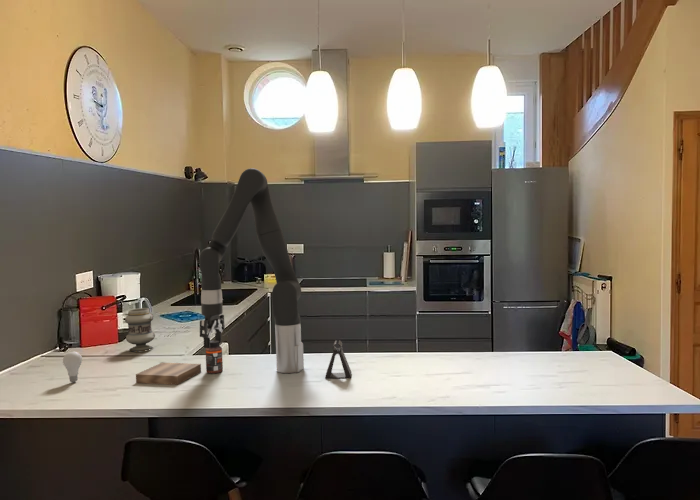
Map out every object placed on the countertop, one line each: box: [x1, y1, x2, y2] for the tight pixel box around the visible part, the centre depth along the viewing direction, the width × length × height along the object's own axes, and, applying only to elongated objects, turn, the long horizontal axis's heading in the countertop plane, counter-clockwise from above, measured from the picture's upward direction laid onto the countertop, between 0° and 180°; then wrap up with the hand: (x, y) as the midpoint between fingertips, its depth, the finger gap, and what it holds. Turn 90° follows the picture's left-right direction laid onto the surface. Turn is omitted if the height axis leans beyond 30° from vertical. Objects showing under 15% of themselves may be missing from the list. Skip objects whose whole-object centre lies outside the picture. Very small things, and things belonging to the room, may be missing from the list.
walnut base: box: [135, 362, 202, 386], centre depth 195 cm, size 16×16×3 cm
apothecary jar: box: [124, 307, 156, 353], centre depth 241 cm, size 12×12×18 cm
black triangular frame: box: [324, 339, 352, 380], centre depth 190 cm, size 9×6×12 cm, turn 88°
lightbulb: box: [62, 351, 83, 384], centre depth 192 cm, size 6×6×11 cm
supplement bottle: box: [205, 340, 224, 374], centre depth 201 cm, size 6×6×11 cm
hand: (212, 345), depth 201 cm, fingers open, 8 cm apart
